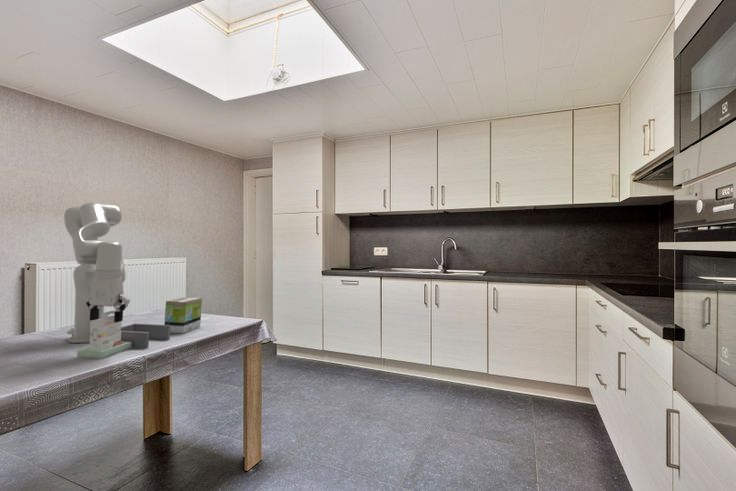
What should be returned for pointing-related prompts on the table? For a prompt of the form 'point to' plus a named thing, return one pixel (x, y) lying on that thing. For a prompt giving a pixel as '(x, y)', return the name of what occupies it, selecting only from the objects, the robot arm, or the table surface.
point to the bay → (144, 334)
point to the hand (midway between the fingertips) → (106, 320)
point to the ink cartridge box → (105, 332)
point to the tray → (103, 354)
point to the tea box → (183, 314)
